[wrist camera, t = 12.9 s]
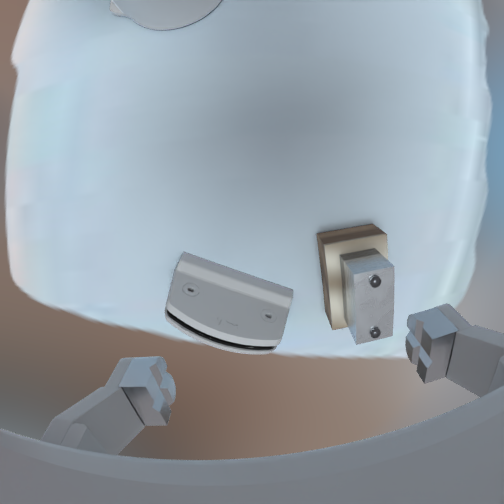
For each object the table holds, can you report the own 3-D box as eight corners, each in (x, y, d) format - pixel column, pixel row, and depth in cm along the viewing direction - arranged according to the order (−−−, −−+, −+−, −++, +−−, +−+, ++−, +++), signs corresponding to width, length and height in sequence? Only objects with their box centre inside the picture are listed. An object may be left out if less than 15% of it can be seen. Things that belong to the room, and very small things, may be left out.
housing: (339, 254, 36) (354, 276, 30) (374, 248, 36) (395, 267, 29) (344, 318, 39) (357, 346, 33) (376, 311, 38) (393, 337, 32)
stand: (316, 233, 40) (324, 245, 35) (372, 223, 40) (386, 234, 35) (325, 311, 44) (332, 330, 39) (376, 300, 43) (387, 317, 39)
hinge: (295, 290, 43) (292, 349, 35) (282, 310, 46) (277, 367, 38) (180, 250, 41) (155, 304, 33) (175, 274, 44) (152, 327, 36)
